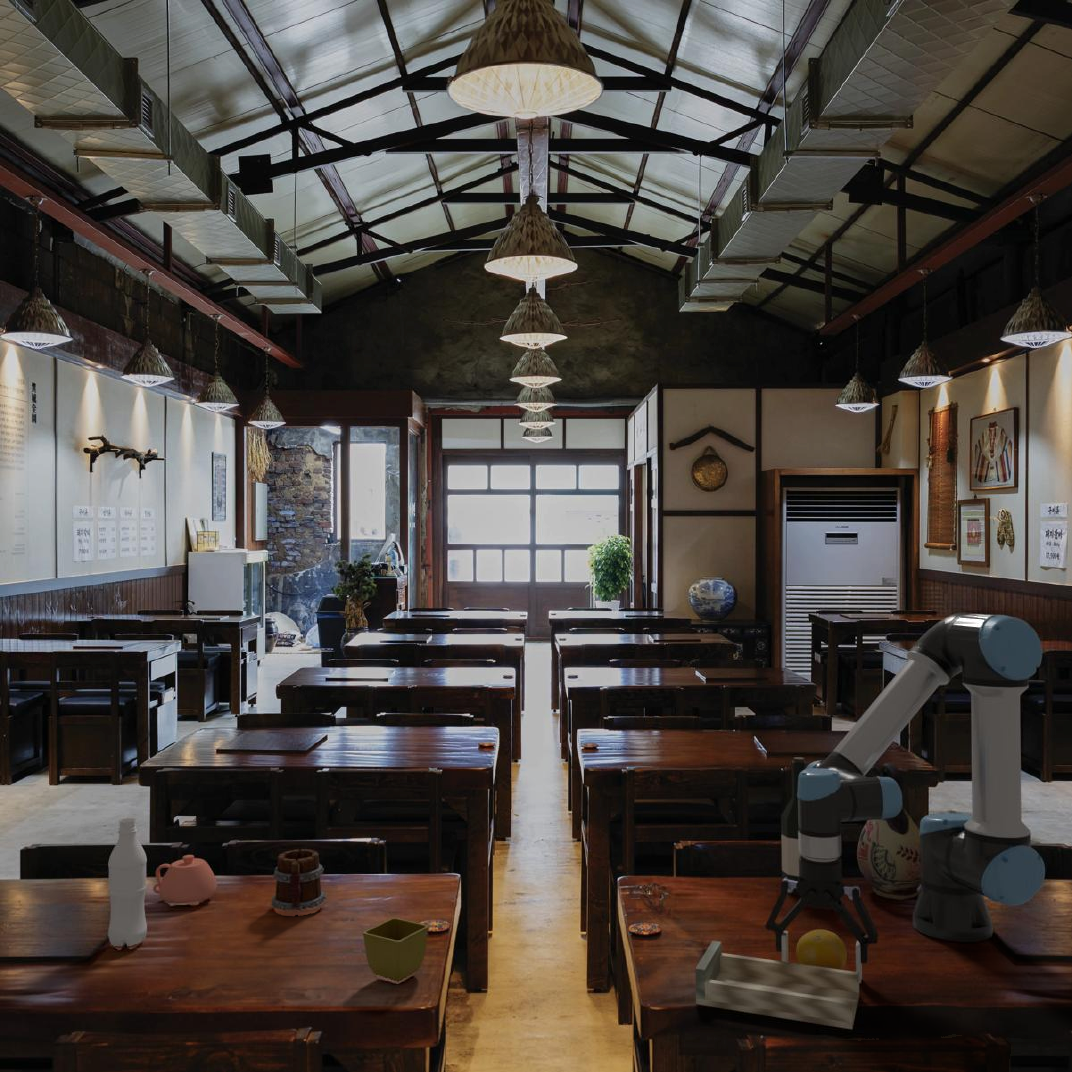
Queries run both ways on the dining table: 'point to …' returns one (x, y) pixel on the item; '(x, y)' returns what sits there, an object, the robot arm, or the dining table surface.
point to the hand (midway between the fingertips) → (821, 974)
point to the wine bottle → (792, 828)
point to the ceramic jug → (891, 849)
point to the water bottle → (127, 887)
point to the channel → (777, 988)
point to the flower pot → (396, 948)
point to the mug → (298, 880)
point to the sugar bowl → (186, 881)
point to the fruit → (821, 950)
